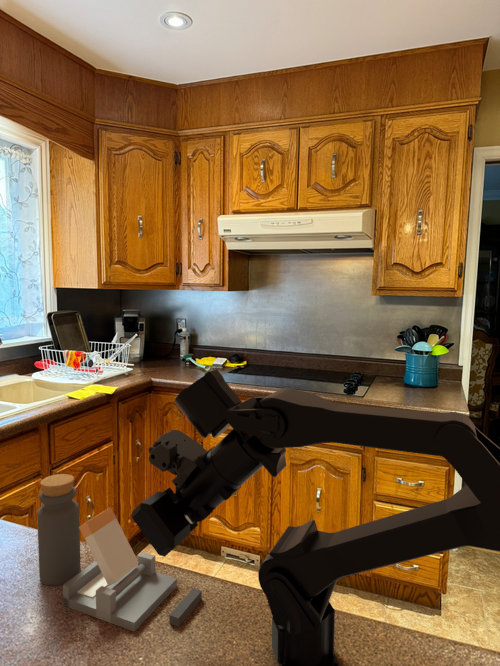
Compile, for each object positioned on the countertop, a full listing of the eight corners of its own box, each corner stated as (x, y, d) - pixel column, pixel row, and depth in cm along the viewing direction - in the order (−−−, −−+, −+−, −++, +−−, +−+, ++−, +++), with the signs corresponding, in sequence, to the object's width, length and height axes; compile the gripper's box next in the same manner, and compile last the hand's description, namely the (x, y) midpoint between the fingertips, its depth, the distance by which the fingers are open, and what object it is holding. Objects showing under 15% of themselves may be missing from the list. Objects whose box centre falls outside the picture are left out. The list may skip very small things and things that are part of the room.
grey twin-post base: (177, 586, 68) (176, 561, 67) (134, 631, 59) (133, 603, 58) (112, 566, 72) (111, 543, 72) (63, 605, 63) (62, 579, 63)
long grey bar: (193, 596, 66) (193, 588, 65) (201, 598, 65) (201, 590, 65) (169, 623, 60) (169, 615, 60) (178, 626, 59) (178, 618, 59)
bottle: (66, 588, 67) (63, 489, 66) (30, 583, 68) (27, 485, 67) (88, 565, 73) (85, 473, 71) (55, 561, 74) (52, 470, 73)
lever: (148, 569, 68) (114, 504, 69) (117, 597, 61) (81, 525, 63) (140, 573, 68) (107, 508, 70) (109, 601, 62) (73, 529, 64)
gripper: (222, 399, 67) (160, 461, 73) (144, 435, 50) (70, 513, 56) (272, 459, 65) (204, 519, 70) (208, 518, 48) (124, 591, 53)
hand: (156, 531), depth 62 cm, fingers closed
